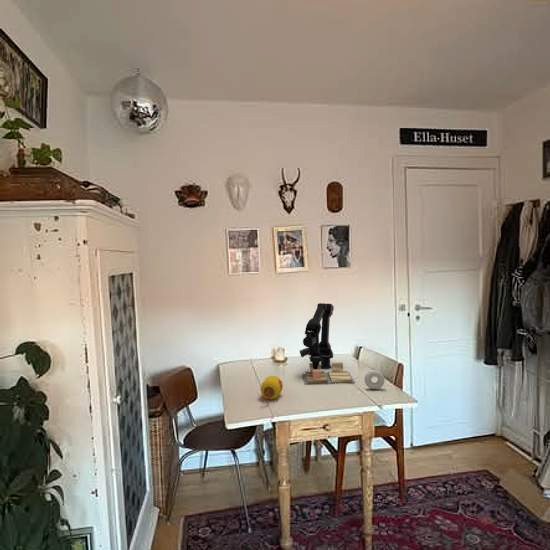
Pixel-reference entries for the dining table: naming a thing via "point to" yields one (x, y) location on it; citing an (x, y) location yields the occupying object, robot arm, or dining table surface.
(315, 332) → the robot arm
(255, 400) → the dining table surface
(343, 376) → the tan piece
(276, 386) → the yellow piece
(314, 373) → the block
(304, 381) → the lane mat
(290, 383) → the dining table surface
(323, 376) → the darker brown strip
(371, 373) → the donut
